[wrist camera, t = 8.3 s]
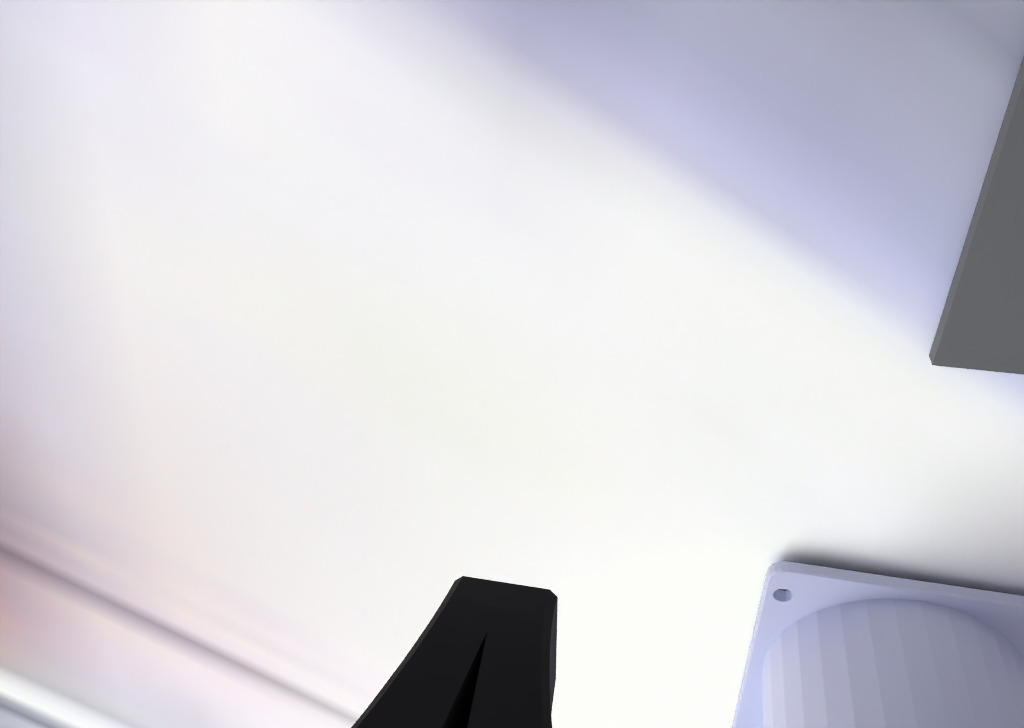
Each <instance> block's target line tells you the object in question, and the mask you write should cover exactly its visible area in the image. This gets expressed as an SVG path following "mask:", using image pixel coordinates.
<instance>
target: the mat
mask: <svg viewBox="0 0 1024 728" xmlns="http://www.w3.org/2000/svg"><path fill="white" fill-rule="evenodd" d="M929 357H930V360H931V363H932V365H937V366H946V367H956V368H966V369H976V370H986V371H996V372H1005V373H1015V374H1024V57H1023V60H1022V63H1021V67H1020V70H1019V73H1018V76H1017V79H1016V82H1015V85H1014V89H1013V92H1012V95H1011V98H1010V101H1009V104H1008V108H1007V111H1006V114H1005V117H1004V120H1003V123H1002V127H1001V130H1000V133H999V136H998V139H997V142H996V146H995V149H994V152H993V155H992V158H991V161H990V165H989V168H988V171H987V174H986V177H985V180H984V183H983V187H982V190H981V193H980V196H979V199H978V202H977V206H976V209H975V212H974V215H973V218H972V221H971V225H970V228H969V231H968V234H967V237H966V240H965V244H964V247H963V250H962V253H961V256H960V259H959V263H958V266H957V269H956V272H955V275H954V278H953V281H952V285H951V288H950V291H949V294H948V297H947V300H946V304H945V307H944V310H943V313H942V316H941V319H940V323H939V326H938V329H937V332H936V335H935V338H934V342H933V345H932V348H931V351H930V354H929Z"/></svg>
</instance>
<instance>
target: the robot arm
mask: <svg viewBox="0 0 1024 728" xmlns="http://www.w3.org/2000/svg"><path fill="white" fill-rule="evenodd" d="M778 589H786V591H780V590H778ZM556 641H557V596H556V595H555V594H554V593H553V592H552V591H551V590H548V589H542V588H536V587H529V586H523V585H516V584H510V583H504V582H497V581H491V580H484V579H478V578H472V577H465V576H462V577H461V578H459V579H457V580H455V582H454V584H453V585H452V587H451V589H450V590H449V592H448V594H447V596H446V597H445V599H444V600H443V602H442V604H441V605H440V607H439V608H438V610H437V612H436V613H435V615H434V616H433V618H432V619H431V621H430V622H429V624H428V625H427V627H426V628H425V630H424V631H423V633H422V634H421V636H420V637H419V639H418V640H417V642H416V643H415V644H414V646H413V647H412V649H411V650H410V651H409V653H408V654H407V656H406V657H405V659H404V660H403V661H402V663H401V664H400V665H399V667H398V668H397V669H396V671H395V672H394V673H393V675H392V676H391V677H390V679H389V680H388V681H387V683H386V684H385V685H384V687H383V688H382V689H381V691H380V692H379V693H378V695H377V696H376V697H375V699H374V700H373V701H372V703H371V704H370V705H369V706H368V708H367V709H366V710H365V711H364V713H363V714H362V715H361V716H360V718H359V719H358V720H357V721H356V723H355V724H354V725H353V726H352V727H351V728H552V721H551V711H552V702H553V695H554V687H555V680H556ZM732 728H1024V596H1020V595H1013V594H1006V593H1000V592H993V591H986V590H979V589H972V588H965V587H959V586H952V585H945V584H938V583H931V582H925V581H918V580H911V579H904V578H897V577H891V576H884V575H877V574H870V573H863V572H856V571H850V570H843V569H836V568H829V567H822V566H816V565H809V564H802V563H795V562H788V561H781V562H777V563H774V564H772V565H771V566H770V567H769V568H768V570H767V573H766V578H765V582H764V586H763V591H762V595H761V600H760V604H759V609H758V613H757V617H756V622H755V626H754V631H753V635H752V640H751V644H750V649H749V653H748V657H747V662H746V666H745V671H744V675H743V680H742V684H741V688H740V693H739V697H738V702H737V706H736V711H735V715H734V719H733V724H732Z"/></svg>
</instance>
